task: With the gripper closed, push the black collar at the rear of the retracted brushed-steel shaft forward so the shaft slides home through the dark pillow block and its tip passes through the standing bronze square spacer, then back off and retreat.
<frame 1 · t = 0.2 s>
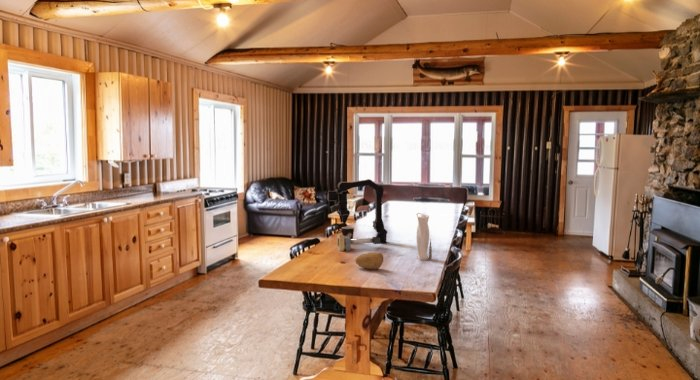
hand: (342, 223, 316), 14 cm above the table, fingers open, 9 cm apart
pillow block: (346, 249, 302), on the table
potato: (369, 269, 255), on the table
coffee mug: (345, 242, 326), on the table
shaft: (362, 240, 304), point 5 cm above the table, slide at 7.0 cm
spacer: (340, 249, 301), on the table
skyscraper: (422, 259, 277), on the table
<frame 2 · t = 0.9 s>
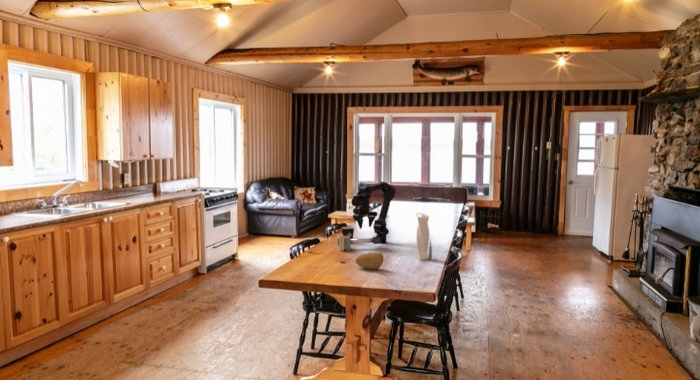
hand: (365, 227, 311), 12 cm above the table, fingers open, 9 cm apart
nothing on the table moved.
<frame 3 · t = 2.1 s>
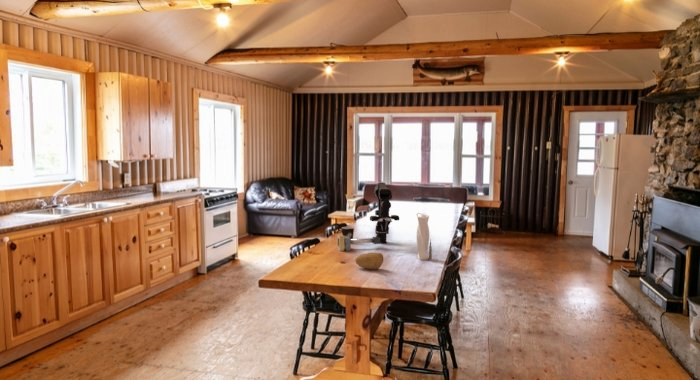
hand: (384, 231, 307), 11 cm above the table, fingers closed
nothing on the table moved.
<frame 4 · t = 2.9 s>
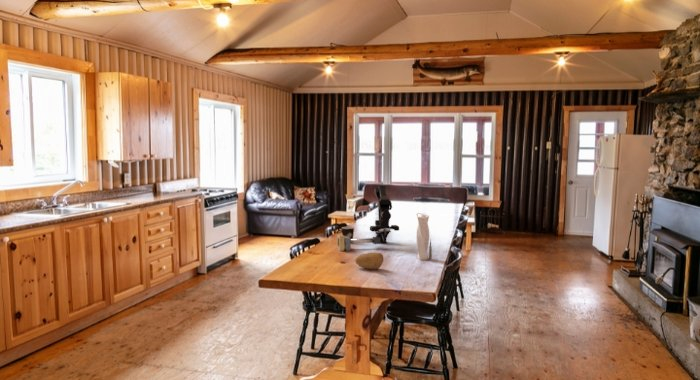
hand: (384, 241, 308), 4 cm above the table, fingers closed
nothing on the table moved.
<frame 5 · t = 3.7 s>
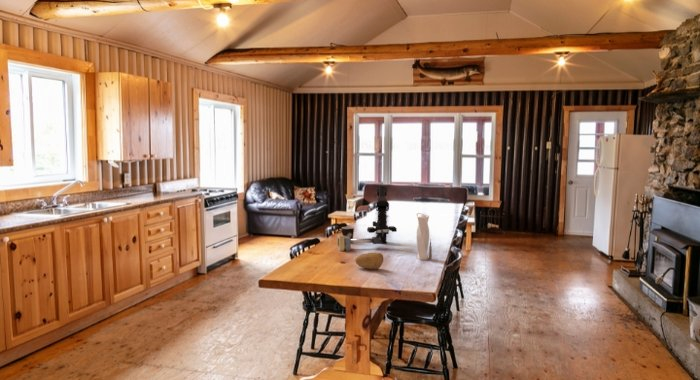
hand: (381, 242, 307), 4 cm above the table, fingers closed
shaft: (362, 241, 304), point 5 cm above the table, slide at 6.7 cm, touching gripper
everything else where it was.
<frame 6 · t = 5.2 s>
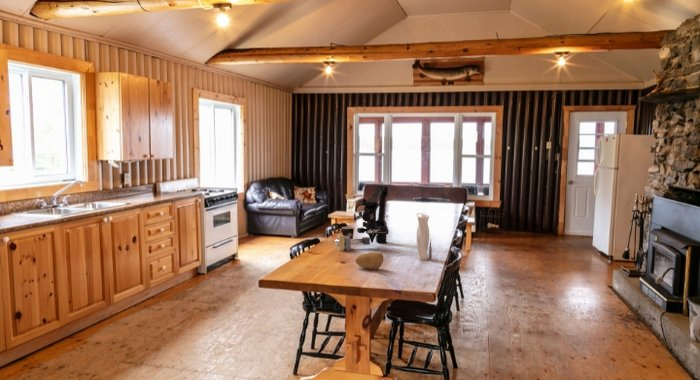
hand: (371, 242, 306), 4 cm above the table, fingers closed
shaft: (352, 241, 303), point 5 cm above the table, slide at -0.1 cm, touching gripper
everything else where it was.
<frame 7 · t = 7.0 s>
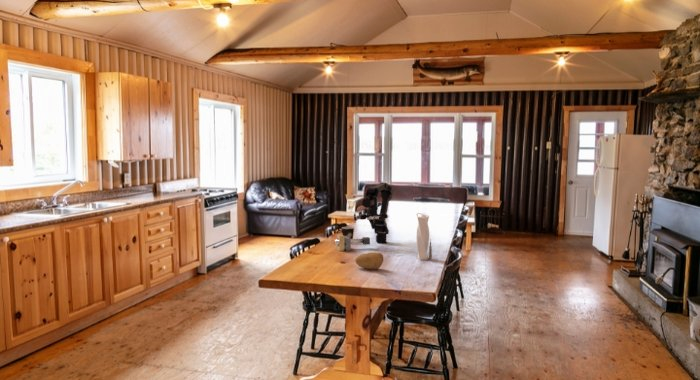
hand: (372, 229, 310), 12 cm above the table, fingers closed
shaft: (352, 241, 303), point 5 cm above the table, slide at 0.0 cm
everything else where it was.
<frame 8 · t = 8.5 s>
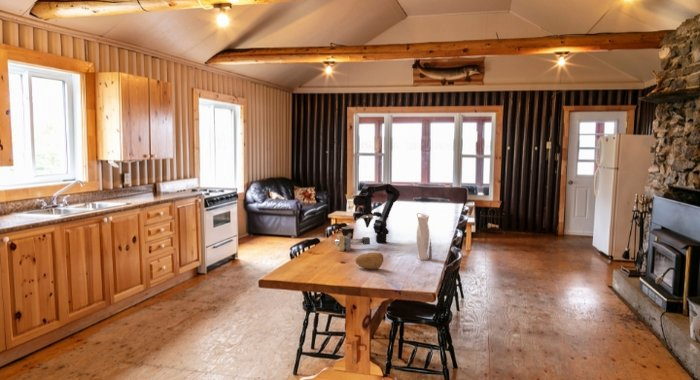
hand: (367, 227, 315), 12 cm above the table, fingers closed
nothing on the table moved.
at the end: shaft slide at 0.0 cm; spacer 0.2 cm from the target spot, on the table; spacer tilted 0° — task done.
